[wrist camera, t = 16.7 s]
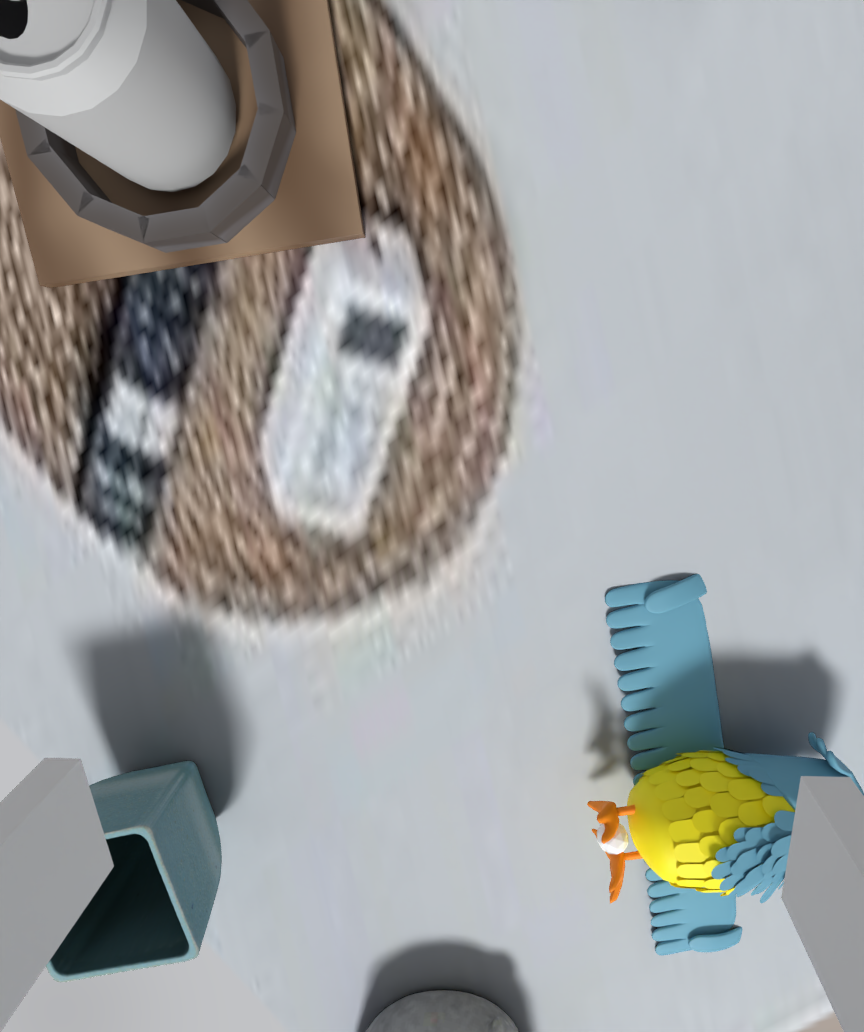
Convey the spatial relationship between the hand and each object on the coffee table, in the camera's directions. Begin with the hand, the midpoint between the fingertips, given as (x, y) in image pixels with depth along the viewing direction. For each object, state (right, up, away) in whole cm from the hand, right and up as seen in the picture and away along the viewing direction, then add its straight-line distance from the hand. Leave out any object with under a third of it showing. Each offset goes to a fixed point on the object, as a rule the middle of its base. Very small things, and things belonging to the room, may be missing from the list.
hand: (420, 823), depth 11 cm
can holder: (-13, +27, +21) cm, 37 cm away
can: (-13, +26, +21) cm, 36 cm away
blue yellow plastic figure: (+18, -11, +30) cm, 36 cm away
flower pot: (-18, -13, +31) cm, 38 cm away
